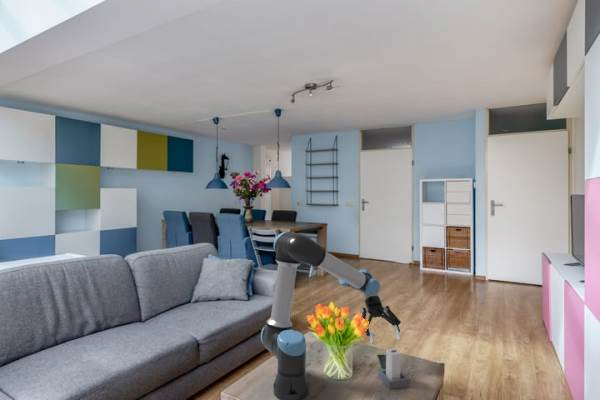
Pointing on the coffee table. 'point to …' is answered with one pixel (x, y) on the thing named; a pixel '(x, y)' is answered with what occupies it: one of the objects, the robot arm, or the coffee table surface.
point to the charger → (393, 364)
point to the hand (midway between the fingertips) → (386, 341)
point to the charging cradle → (393, 383)
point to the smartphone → (382, 361)
